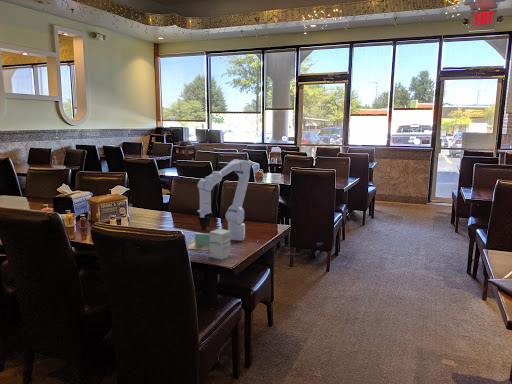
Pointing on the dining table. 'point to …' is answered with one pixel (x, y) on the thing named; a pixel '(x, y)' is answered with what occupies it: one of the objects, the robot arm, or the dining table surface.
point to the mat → (197, 246)
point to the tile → (202, 239)
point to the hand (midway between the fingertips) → (205, 228)
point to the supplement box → (220, 243)
